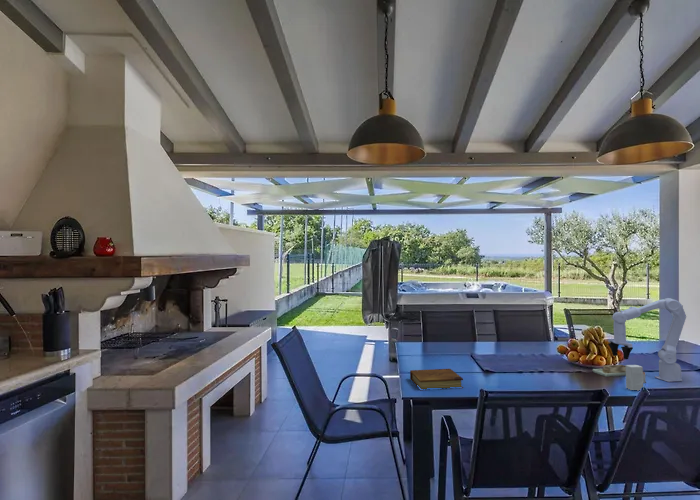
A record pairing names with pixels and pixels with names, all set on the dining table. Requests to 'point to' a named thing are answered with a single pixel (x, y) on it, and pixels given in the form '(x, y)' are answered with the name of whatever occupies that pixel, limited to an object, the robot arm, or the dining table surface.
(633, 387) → the skincare box
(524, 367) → the dining table surface
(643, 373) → the rubber stamp
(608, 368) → the tan rectangular frame
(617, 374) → the tray
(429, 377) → the diary
